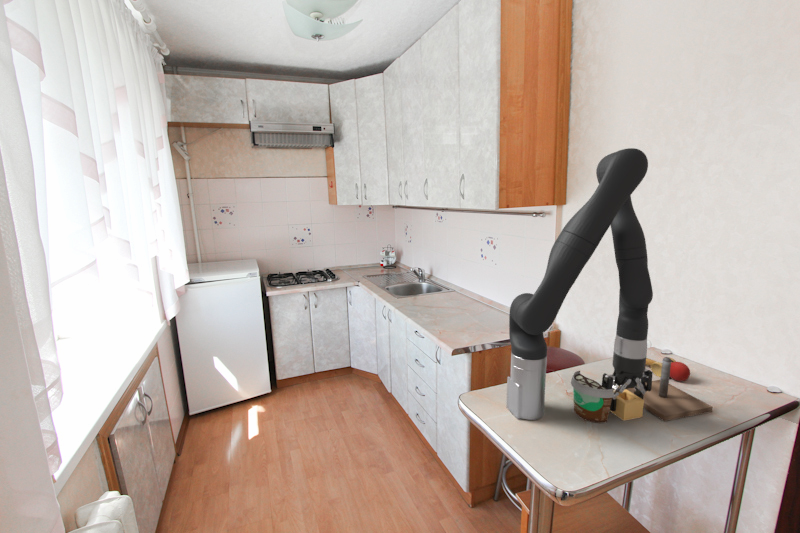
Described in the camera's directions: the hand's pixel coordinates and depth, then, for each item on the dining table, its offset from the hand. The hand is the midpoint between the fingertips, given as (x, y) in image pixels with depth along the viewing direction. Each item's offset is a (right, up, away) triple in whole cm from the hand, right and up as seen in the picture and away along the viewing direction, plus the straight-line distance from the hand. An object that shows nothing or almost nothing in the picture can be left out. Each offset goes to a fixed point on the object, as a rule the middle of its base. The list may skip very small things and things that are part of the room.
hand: (624, 407), depth 105 cm
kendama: (+25, +3, +23) cm, 34 cm away
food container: (-11, -2, 0) cm, 11 cm away
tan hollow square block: (0, -2, 0) cm, 2 cm away
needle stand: (+14, 0, +6) cm, 15 cm away
